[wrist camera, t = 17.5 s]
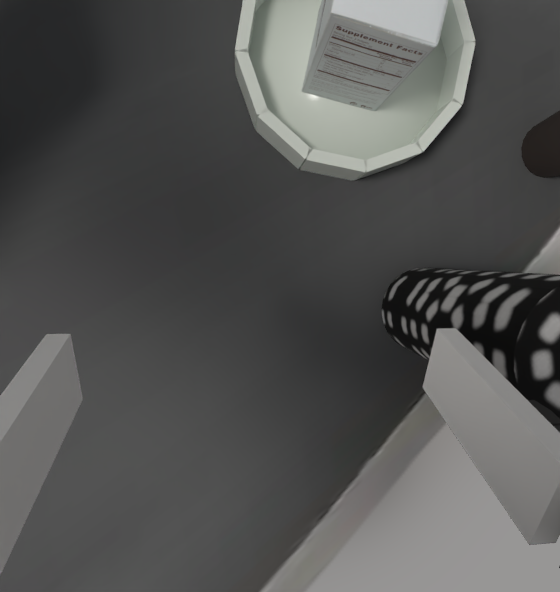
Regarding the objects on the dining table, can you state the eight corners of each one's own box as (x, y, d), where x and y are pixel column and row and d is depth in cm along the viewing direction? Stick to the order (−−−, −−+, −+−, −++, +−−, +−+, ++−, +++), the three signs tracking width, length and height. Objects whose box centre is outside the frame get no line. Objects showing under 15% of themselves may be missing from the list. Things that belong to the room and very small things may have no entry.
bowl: (221, 153, 38) (219, 141, 34) (259, -73, 37) (261, -113, 33) (425, 195, 41) (445, 189, 37) (468, -17, 39) (493, -47, 35)
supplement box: (316, 10, 37) (356, -116, 25) (394, 34, 38) (471, -76, 25) (298, 93, 38) (327, 11, 25) (375, 115, 38) (441, 46, 26)
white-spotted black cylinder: (387, 357, 42) (522, 446, 22) (376, 275, 41) (505, 291, 21) (465, 342, 42) (664, 415, 23) (456, 261, 42) (654, 264, 22)
